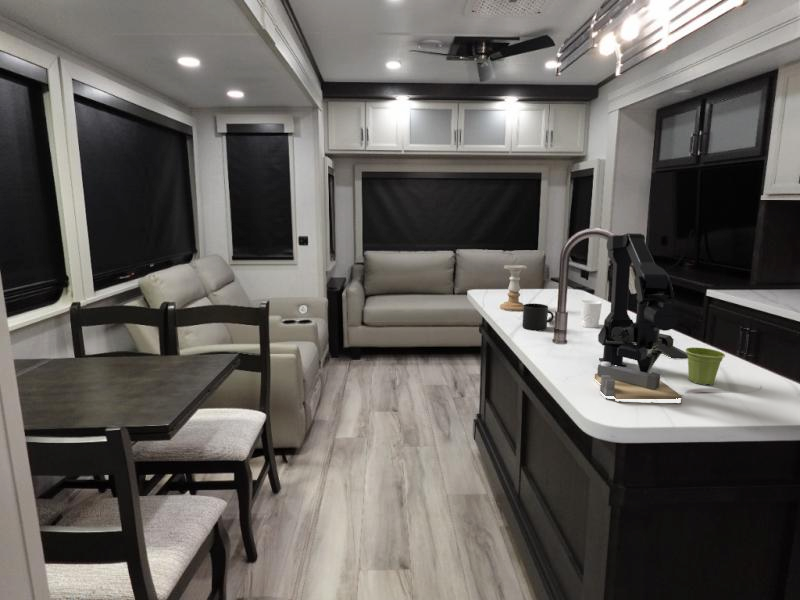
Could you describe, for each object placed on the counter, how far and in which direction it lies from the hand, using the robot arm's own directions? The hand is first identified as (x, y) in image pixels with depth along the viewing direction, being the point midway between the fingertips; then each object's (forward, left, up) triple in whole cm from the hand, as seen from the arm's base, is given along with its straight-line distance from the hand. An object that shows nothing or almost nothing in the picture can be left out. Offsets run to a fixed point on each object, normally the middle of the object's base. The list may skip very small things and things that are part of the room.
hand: (643, 376), depth 134 cm
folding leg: (0, -4, -1) cm, 4 cm away
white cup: (-71, +10, -4) cm, 72 cm away
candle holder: (-103, -15, -4) cm, 105 cm away
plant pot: (-7, +20, -4) cm, 21 cm away
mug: (-66, -12, -4) cm, 68 cm away
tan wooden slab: (+2, -2, -4) cm, 5 cm away
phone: (-36, +25, -4) cm, 44 cm away
